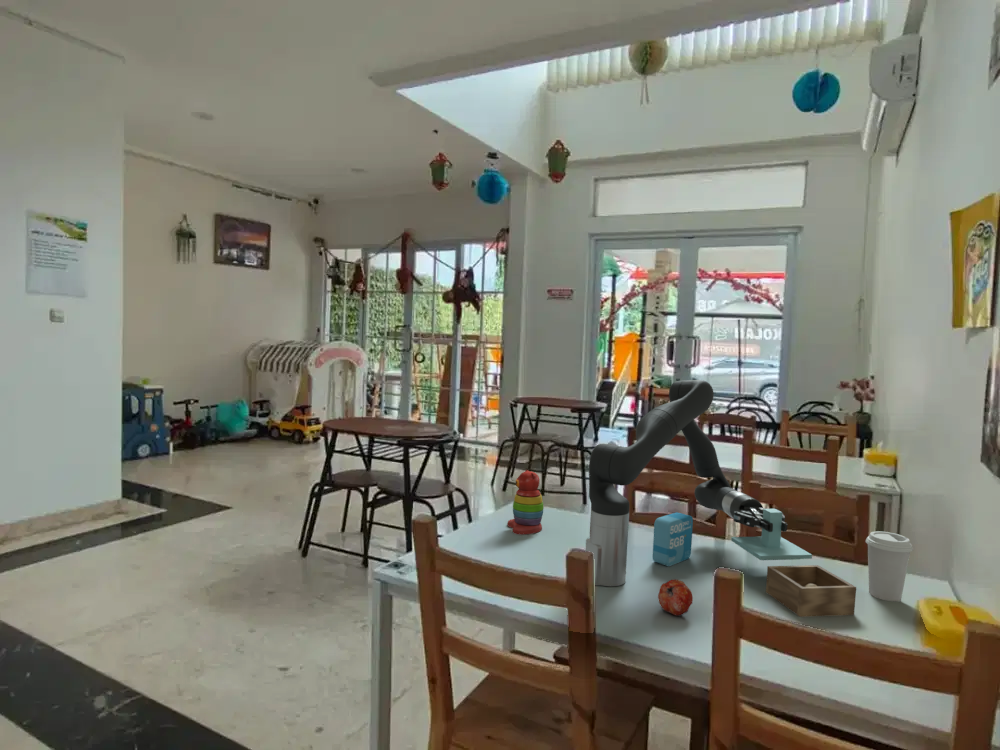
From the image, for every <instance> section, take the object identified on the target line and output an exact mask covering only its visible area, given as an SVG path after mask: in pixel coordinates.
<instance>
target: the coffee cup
mask: <svg viewBox="0 0 1000 750" xmlns="http://www.w3.org/2000/svg"><path fill="white" fill-rule="evenodd" d="M865 543H866V544H867V557H868V558H867V559H868V560H867V562H868V563H867V565H868V567H867V568H868V594H869V595H871V596H872V597H874V598H876V599H880V600H883V601H888V602H899V603H900V602H902V598H903V592H904V586H905V580H906V576H907V570H908V565H909V560H910V556H911V552H913V551H914V548H913V544H912V543H911V540H910V538H908V537H907V536H904V535H902V534H898V533H894V532H889V531H881V530H880V531H879V530H877V531H871V532H870V533H869V535H868V536H867V537H866V539H865Z"/></svg>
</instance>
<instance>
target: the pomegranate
mask: <svg viewBox="0 0 1000 750" xmlns="http://www.w3.org/2000/svg"><path fill="white" fill-rule="evenodd" d="M658 591H659V592H658V594H657V598H658V603H659V605H660V607H661V609H662V610H663V611H665V612H667V613H670V614H672V615H674V616H678V617H680V616H682V615H684V614H686V613H688V611H689V609H690V607H691V605H693V601H694V600H693V599H694V597H693V593H692V591H691V589H690V588H689V587H688V586H687V585H686V584H685V582H684V581H683V580H680V579H679V578H678V579H670V580H669V581H667V582H664V583H662V584H661V586H660V588H659V590H658Z"/></svg>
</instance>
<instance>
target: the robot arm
mask: <svg viewBox="0 0 1000 750" xmlns="http://www.w3.org/2000/svg"><path fill="white" fill-rule="evenodd" d="M668 391H669V392H668V398H669V402H666V403H664V404H663V403H662V404H661V405H659V406H655V407H654V408H652V409H651V410H650V411H649V412H647V413H646V414H645V415H644V416H643V417H641V418H640V419H639V421H638V422H637V424H636V427H635V439H636V441H635V442H633V444H631V445H629V446H619V445H614V444H609V443H599V444H597V445H596V446H594V448H593V450H592V451H591V454H590V456H589V457H590V458H589V464H588V466H589V467H588V494H589V495H588V496H589V498H588V499H589V500H590V521H589V537H588V538H586V540H585V552H586V551H590V552H593V553H594V559H595V585H594V586H604V587H618V586H622V585H624V584H625V583H626V580H627V579H626V578H627V562H628V561H627V560H628V559H627V558H628V541H629V521H630V500H628V498H626V497H625V496H623V494H621V493H620V492H619V491H618V490H617V489H616V488H615V486H614V485H616V486H628V485H631V483H634V481H635V480H636V479H637V478H638V477H639V475H640V474H641V473H642V472H643V470H644V469H645V468H646V467H647V465H648V464H649V463H650V462H651V460H652V459H653V458H654V457H655V456H656V455H657V454H658V453H659V452H660V450H662V449H663V448H664V447H665V446H667V445H668V444H669V442H671V441H672V440H673V439H674V438H675V437H676V436H677V435H678V434H679V433H680V432H681V431H682V434H683V437H684V438H685V441H686V443H687V445H688V446H687V447H688V448H689V452H690V455H691V459H692V464H693V467H694V471H695V474H696V475H697V476H698V478H703V479H707V478H712V479H710V480H707V481H704V482H702V483H700V484H699V483H698V484H697V485H696V486H695V489H694V497H695V499H696V501H697V502H698V503H699V504H700V505H701V507H702V506H703V507H704V508H707V509H710V510H715V511H721V512H723V513H725V514H727V515H728V516H729V517H730V518H731V519H733V522H735V523H738V524H740V525H743V526H746V527H750V528H755V527H757V528H759V529H762V528H763V529H765V530H766V531H768V532H772V531H773V524H772V523H771V522H769V521H767V520H765V519H763V509H765V508H764V507H763V504H762V503H761V502H760V501H759V500H758V499H756V498H754V497H752V496H750V495H748V494H746V493H744V492H740V491H738V490H736V489H734V488H732V486H731V484H730V483H729V481H728V480H727V478H726V476H725V475H724V472H723V471H722V468H721V466H720V463H719V459H718V458H719V457H718V455H717V452H716V448H715V446H714V444H713V442H712V441H711V438H709V437H708V435H707V434H705V432H704V431H703V430H702V428H700V426H699V425H698V424H697V422H696V421H695V419H696V418H698V417H699V416H701V415H702V414H704V413H706V412H707V410H709V409H710V407H711V405H712V403H713V400H714V397H715V396H714V389H713V387H712V385H711V384H710V383H709V382H708V381H705V380H702V379H689V380H687V379H685V380H684V379H683V380H675V381H674V382H672V384H671V385H670V387H669V390H668ZM785 520H786V517H785V515H784V513H783V512H782V523H781V532H785V533H786V532H787V531H788V525H789V524H788V523H787V522H785Z"/></svg>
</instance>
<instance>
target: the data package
mask: <svg viewBox="0 0 1000 750" xmlns="http://www.w3.org/2000/svg"><path fill="white" fill-rule="evenodd" d="M693 523H694V519H693V516H691V515H689V514H685V513H681V512H672V513H670V514H666V515H662V516H660V517H657V518H656V519H655V521H654V523H653V524H654V525H653V539H652V540H653V541H652V561H653V562H654V563H657V564H660V565H663V566H665V567H671V566H674V565H676V564H678V563H679V564H680V563H681V562H684V561H686V560H689V559H690V557H691V554H692V545H693V541H692V540H693Z"/></svg>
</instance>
